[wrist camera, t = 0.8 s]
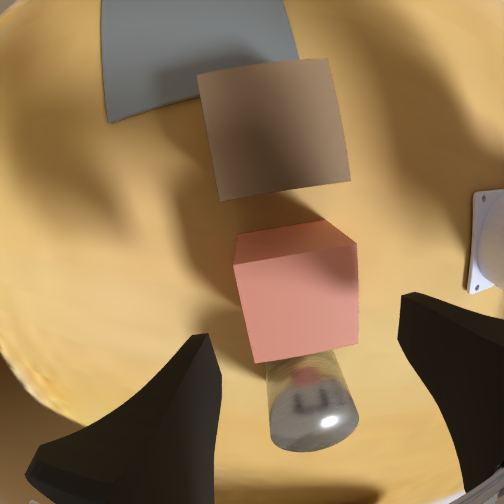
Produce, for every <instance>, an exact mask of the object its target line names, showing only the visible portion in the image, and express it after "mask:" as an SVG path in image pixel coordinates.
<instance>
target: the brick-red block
mask: <svg viewBox="0 0 504 504" xmlns="http://www.w3.org/2000/svg"><path fill="white" fill-rule="evenodd" d="M233 268H234V273H235V277H236V282H237V287H238V291H239V296H240V300H241V305H242V309H243V314H244V318H245V323H246V327H247V332H248V336H249V340H250V345H251V349H252V353H253V358H254V362H255V363H262V362H269V361H275V360H281V359H287V358H293V357H298V356H303V355H308V354H313V353H318V352H323V351H328V350H332V349H337V348H341V347H345V346H349V345H354V344H358V333H359V286H358V259H357V243H356V242H354V241H353V240H352V239H350V238H349V237H348V236H346V235H345V234H344V233H343V232H341V231H340V230H339V229H337V228H336V227H335V226H333V225H332V224H331V223H329V222H328V221H327V220H320V221H314V222H308V223H302V224H296V225H290V226H284V227H278V228H273V229H267V230H261V231H255V232H250V233H244V234H238V236H237V242H236V248H235V255H234V261H233Z"/></svg>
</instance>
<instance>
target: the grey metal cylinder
mask: <svg viewBox="0 0 504 504" xmlns="http://www.w3.org/2000/svg"><path fill="white" fill-rule="evenodd" d="M265 371H266V384H267V396H268V409H269V422H270V435H271V439H272V441H273V443H274V444H275V445H276V446H278V447H279V448H281V449H284V450H287V451H292V452H312V451H317V450H321V449H325V448H328V447H330V446H333V445H335V444H337V443H339V442H341V441H342V440H344V439H345V438H346V437H348V436H349V435H350V434H351V433H352V432H353V431H354V430H355V428H356V427H357V424H358V421H359V415H358V412H357V409H356V407H355V404H354V402H353V399H352V396H351V394H350V391H349V389H348V386H347V384H346V381H345V379H344V376H343V374H342V371H341V369H340V367H339V364H338V362H337V359H336V357H335V354H334V352H333V350H328V351H323V352H318V353H313V354H308V355H303V356H298V357H293V358H287V359H281V360H275V361H269V362H266V364H265Z"/></svg>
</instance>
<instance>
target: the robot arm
mask: <svg viewBox="0 0 504 504" xmlns="http://www.w3.org/2000/svg"><path fill="white" fill-rule="evenodd" d="M482 197H483V199H482ZM495 285H496V286H497V287H499V288H500V289H502V290H503V291H504V189H499V190H489V191H479V192H475V193H474V195H473V228H472V247H471V259H470V268H469V277H468V284H467V293H469V294H470V295H472V294H475V293H478V292H480V291H483V290H485V289H487V288H490V287H492V286H495ZM397 340H398V342H399V344H400V346H401V348H402V350H403V352H404V354H405V356H406V358H407V359H408V361H409V362H410V364H411V365H412V367H413V368H414V370H415V371H416V373H417V374H418V376H419V377H420V379H421V380H422V381H423V383H424V384H425V386H426V387H427V389H428V390H429V392H430V393H431V395H432V396H433V398H434V400H435V401H436V403H437V405H438V407H439V409H440V411H441V413H442V415H443V417H444V420H445V422H446V424H447V427H448V429H449V432H450V434H451V437H452V440H453V443H454V446H455V449H456V452H457V456H458V459H459V463H460V468H461V472H462V477H463V483H464V490H465V492H466V494H465V495H463V496H461V497H460V498H458V499H456V500H455V501H453V502H451V503H449V504H483V503H484V502H486V501H487V500H489V499H490V498H491V497H493V496H494V495H495V494H497V493H498V492H499V491H500V492H499V494H498V498H497V500H496V501H495V502H494V503H493V504H504V320H503V319H499V318H494V317H490V316H486V315H483V314H479V313H476V312H473V311H470V310H467V309H464V308H461V307H458V306H455V305H452V304H450V303H447V302H444V301H442V300H439V299H436V298H433V297H430V296H427V295H424V294H421V293H417V292H412V293H409V294H405V295H401V308H400V319H399V329H398V338H397ZM221 400H222V374H221V371H220V368H219V365H218V362H217V359H216V356H215V353H214V350H213V347H212V344H211V340H210V337H209V334H208V333H206V334H198V335H192V336H191V337H190V338H189V339H188V340H187V341H186V342H185V343H184V345H183V346H182V347H181V348H180V349H179V350H178V351H177V353H176V354H175V355H174V356H173V357H172V358H171V359H170V360H169V362H168V363H167V364H166V365H165V366H164V367H163V368H162V369H161V370H160V371H159V372H158V373H157V374H156V375H155V376H154V377H153V378H152V379H151V380H150V381H149V382H148V383H147V384H146V385H145V386H144V387H143V388H142V389H141V390H140V391H139V392H137V393H136V394H135V395H134V396H133V397H131V398H130V399H129V400H128V401H126V402H125V403H124V404H122V405H121V406H120V407H118V408H117V409H115V410H114V411H112V412H111V413H109V414H108V415H106V416H104V417H103V418H101V419H100V420H98V421H96V422H95V423H93V424H91V425H89V426H87V427H85V428H83V429H81V430H79V431H77V432H75V433H73V434H70V435H68V436H65V437H63V438H60V439H57V440H54V441H51V442H49V443H46V444H42V445H40V446H39V448H38V450H37V452H36V453H35V455H34V457H33V459H32V461H31V463H30V465H29V467H28V469H27V471H26V473H25V476H26V479H27V480H28V482H29V483H30V484H31V485H32V486H33V487H35V488H36V489H37V490H38V491H39V492H41V493H42V494H43V495H45V496H46V497H47V498H49V499H50V500H51V501H53V502H54V503H56V504H214V451H215V442H216V435H217V428H218V421H219V414H220V407H221ZM29 504H39V503H37V502H35V501H33V500H32V501H30V503H29Z"/></svg>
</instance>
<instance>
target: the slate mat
mask: <svg viewBox="0 0 504 504" xmlns="http://www.w3.org/2000/svg"><path fill="white" fill-rule="evenodd" d="M101 40H102V66H103V81H104V92H105V102H106V111H107V119H108V123H115V122H117V121H120V120H123V119H125V118H128V117H131V116H134V115H137V114H140V113H143V112H146V111H149V110H152V109H156V108H159V107H162V106H166V105H169V104H173V103H177V102H180V101H184V100H188V99H192V98H196V97H200V92H199V86H198V80H197V75H200V74H204V73H209V72H213V71H218V70H223V69H229V68H234V67H240V66H247V65H253V64H261V63H269V62H278V61H289V60H299V56H298V52H297V48H296V45H295V41H294V37H293V34H292V30H291V27H290V23H289V20H288V16H287V13H286V10H285V7H284V3H283V0H102V17H101Z"/></svg>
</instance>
